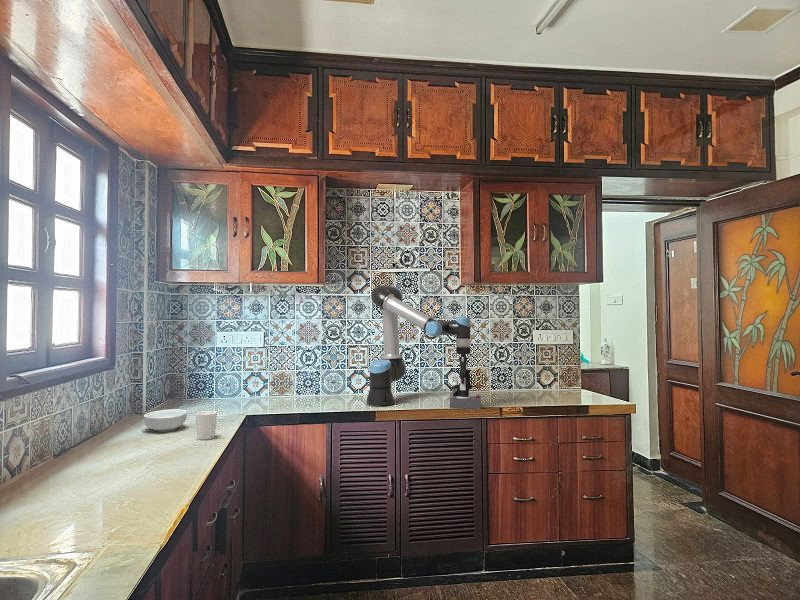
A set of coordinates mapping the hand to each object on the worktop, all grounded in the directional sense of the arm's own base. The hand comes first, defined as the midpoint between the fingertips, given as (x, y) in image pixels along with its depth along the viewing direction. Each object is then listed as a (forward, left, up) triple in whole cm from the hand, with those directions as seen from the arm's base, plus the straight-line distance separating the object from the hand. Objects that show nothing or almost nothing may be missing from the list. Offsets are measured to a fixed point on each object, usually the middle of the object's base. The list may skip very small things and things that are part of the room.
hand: (463, 388), depth 260 cm
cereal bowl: (-123, -72, -10) cm, 143 cm away
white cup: (-98, -81, -10) cm, 128 cm away
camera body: (+1, 0, -10) cm, 10 cm away
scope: (0, 0, -4) cm, 4 cm away
